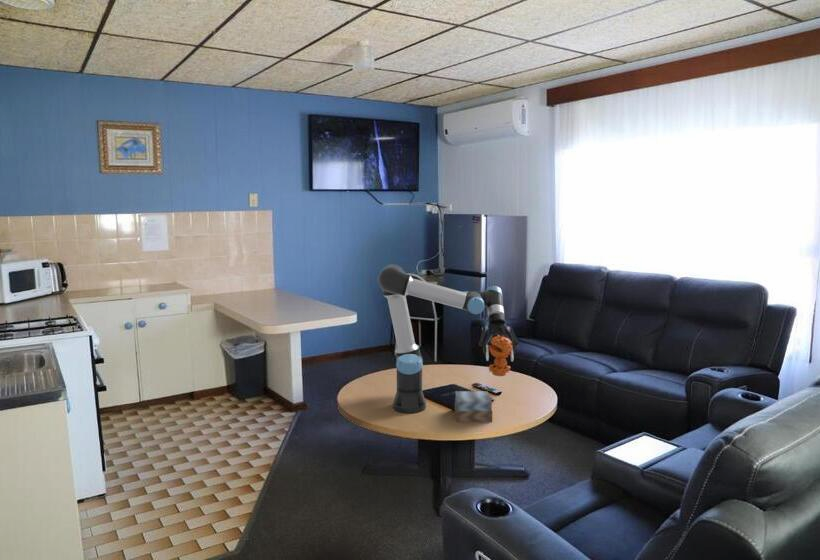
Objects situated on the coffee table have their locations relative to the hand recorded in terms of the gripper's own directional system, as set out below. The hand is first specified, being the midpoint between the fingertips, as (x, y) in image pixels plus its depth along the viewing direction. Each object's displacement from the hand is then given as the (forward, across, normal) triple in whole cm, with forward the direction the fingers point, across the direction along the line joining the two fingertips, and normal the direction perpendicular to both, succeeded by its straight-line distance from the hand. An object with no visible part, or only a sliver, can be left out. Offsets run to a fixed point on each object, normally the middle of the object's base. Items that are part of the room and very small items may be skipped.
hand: (500, 359), depth 256 cm
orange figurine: (+3, 0, -8) cm, 8 cm away
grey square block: (+18, +11, -18) cm, 28 cm away
